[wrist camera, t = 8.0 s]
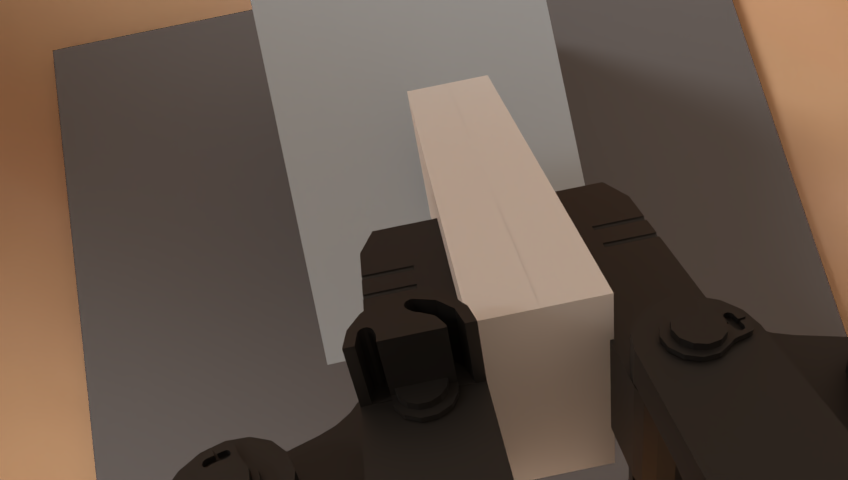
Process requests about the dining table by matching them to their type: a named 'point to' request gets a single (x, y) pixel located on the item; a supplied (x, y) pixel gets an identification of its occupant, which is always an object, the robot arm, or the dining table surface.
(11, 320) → the dining table surface
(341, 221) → the block
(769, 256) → the mat
